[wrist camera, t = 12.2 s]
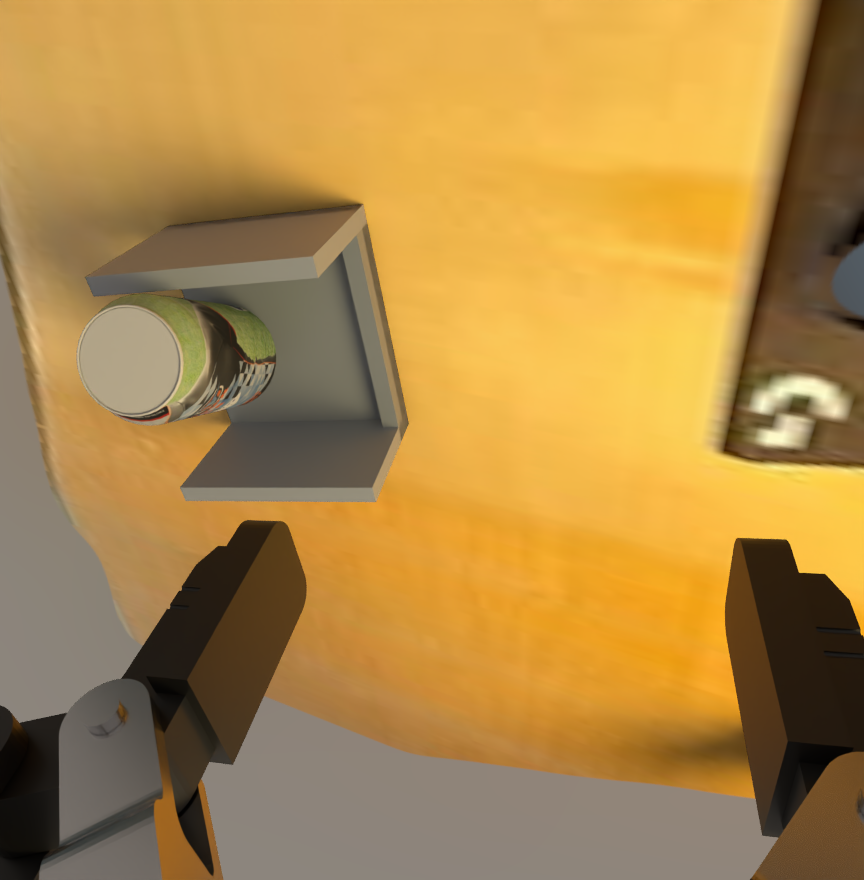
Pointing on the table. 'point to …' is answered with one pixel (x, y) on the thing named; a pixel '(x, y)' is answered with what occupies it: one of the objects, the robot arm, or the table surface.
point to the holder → (289, 350)
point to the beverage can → (173, 358)
